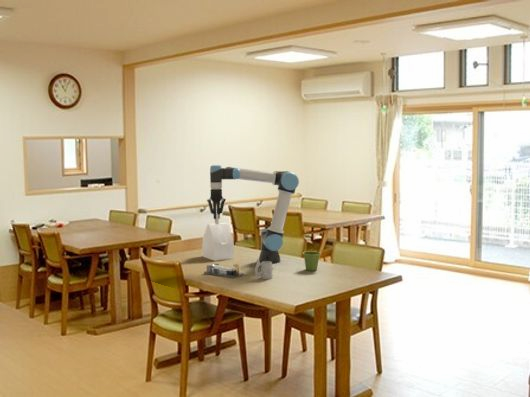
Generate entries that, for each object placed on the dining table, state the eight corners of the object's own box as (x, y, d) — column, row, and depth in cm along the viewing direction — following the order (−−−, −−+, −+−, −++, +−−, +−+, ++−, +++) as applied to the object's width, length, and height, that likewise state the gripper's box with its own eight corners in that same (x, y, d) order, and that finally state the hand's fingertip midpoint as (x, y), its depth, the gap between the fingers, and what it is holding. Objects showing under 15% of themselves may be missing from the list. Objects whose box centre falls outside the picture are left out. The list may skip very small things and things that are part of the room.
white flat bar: (209, 268, 390) (209, 265, 390) (214, 266, 394) (214, 264, 394) (231, 271, 380) (231, 268, 380) (236, 270, 384) (236, 267, 384)
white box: (202, 256, 445) (202, 222, 442) (220, 254, 453) (220, 220, 450) (214, 260, 429) (214, 225, 426) (233, 258, 437) (233, 224, 434)
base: (204, 273, 389) (204, 262, 388) (213, 270, 397) (213, 259, 397) (234, 278, 376) (234, 266, 375) (243, 275, 384) (243, 263, 384)
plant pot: (299, 270, 397) (299, 253, 396) (306, 267, 408) (307, 250, 407) (316, 272, 392) (316, 255, 391) (323, 269, 402) (323, 252, 401)
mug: (274, 278, 375) (275, 259, 374) (257, 280, 370) (257, 261, 369) (269, 276, 382) (269, 257, 381) (252, 277, 377) (252, 258, 376)
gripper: (222, 187, 409) (223, 222, 411) (204, 188, 403) (205, 224, 405) (227, 188, 402) (228, 224, 405) (209, 189, 396) (209, 225, 398)
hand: (216, 224), depth 405 cm, fingers closed
